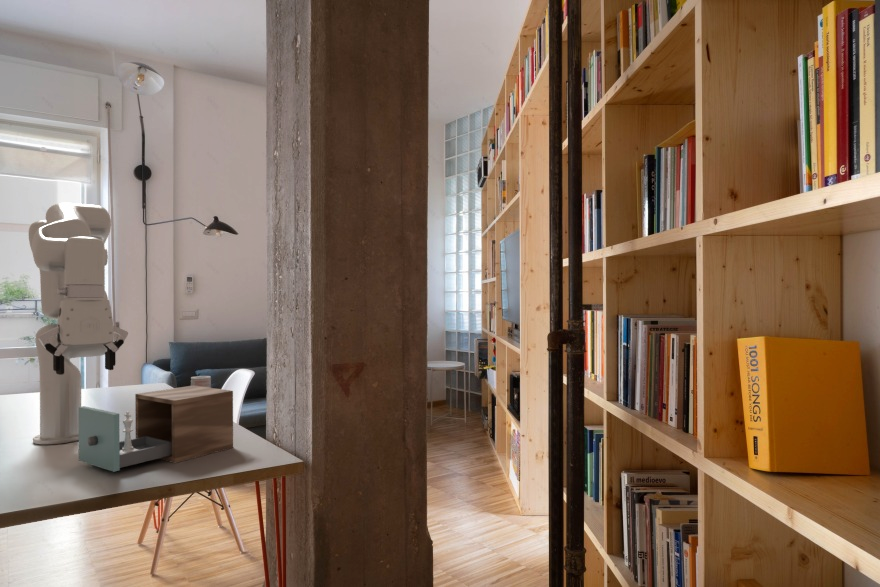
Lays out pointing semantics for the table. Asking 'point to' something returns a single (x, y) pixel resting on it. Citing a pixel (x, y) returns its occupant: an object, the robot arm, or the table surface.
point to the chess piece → (127, 435)
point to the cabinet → (187, 419)
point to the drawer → (113, 442)
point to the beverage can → (201, 381)
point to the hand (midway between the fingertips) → (85, 371)
